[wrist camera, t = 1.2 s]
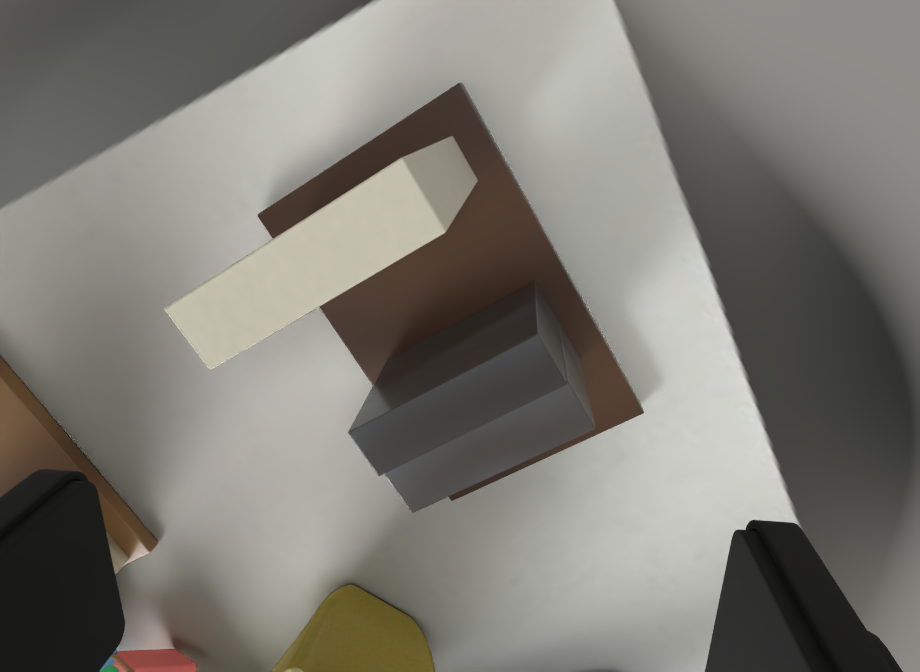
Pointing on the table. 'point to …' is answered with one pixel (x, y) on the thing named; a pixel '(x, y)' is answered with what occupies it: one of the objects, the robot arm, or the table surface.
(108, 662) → the building blocks
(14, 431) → the cream board
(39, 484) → the robot arm
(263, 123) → the table surface
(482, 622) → the table surface
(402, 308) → the grey board
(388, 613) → the flower pot
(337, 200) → the cream book
